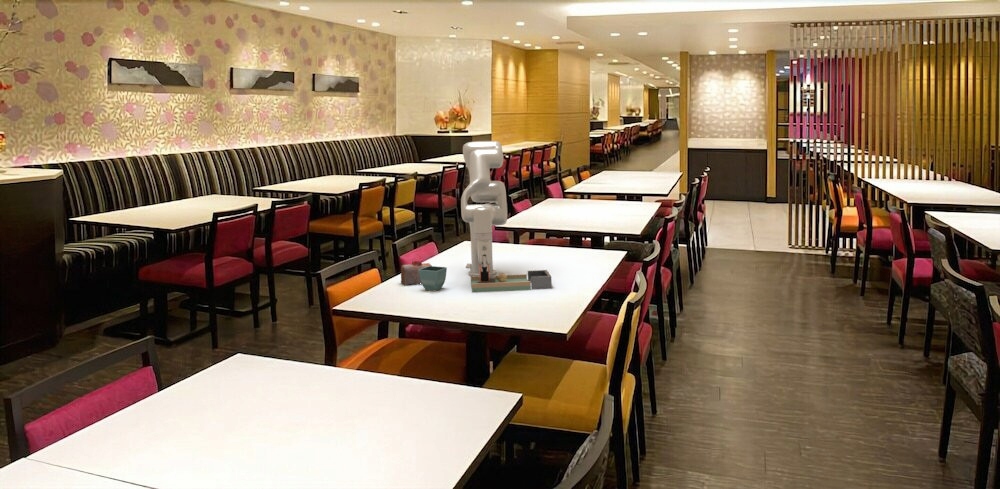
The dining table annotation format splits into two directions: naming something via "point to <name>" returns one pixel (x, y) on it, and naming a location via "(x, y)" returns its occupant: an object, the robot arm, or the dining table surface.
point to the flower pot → (432, 277)
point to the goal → (539, 279)
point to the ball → (502, 277)
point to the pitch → (502, 284)
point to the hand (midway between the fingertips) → (484, 279)
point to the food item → (412, 272)
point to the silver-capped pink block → (491, 277)
